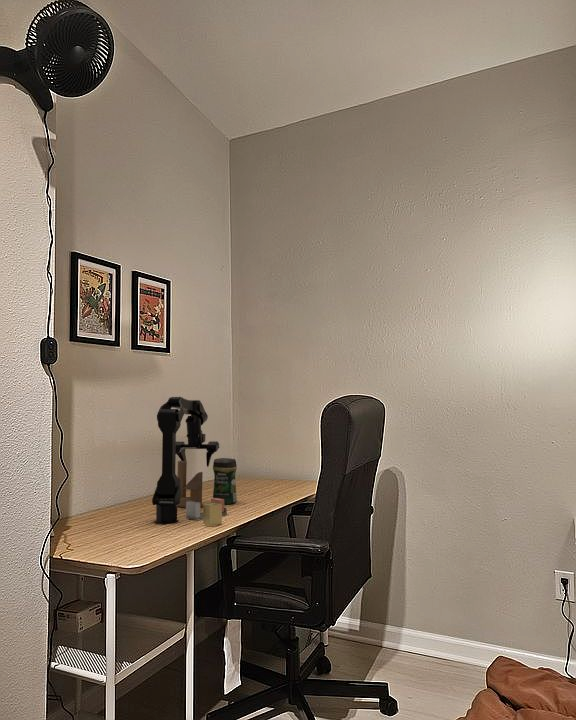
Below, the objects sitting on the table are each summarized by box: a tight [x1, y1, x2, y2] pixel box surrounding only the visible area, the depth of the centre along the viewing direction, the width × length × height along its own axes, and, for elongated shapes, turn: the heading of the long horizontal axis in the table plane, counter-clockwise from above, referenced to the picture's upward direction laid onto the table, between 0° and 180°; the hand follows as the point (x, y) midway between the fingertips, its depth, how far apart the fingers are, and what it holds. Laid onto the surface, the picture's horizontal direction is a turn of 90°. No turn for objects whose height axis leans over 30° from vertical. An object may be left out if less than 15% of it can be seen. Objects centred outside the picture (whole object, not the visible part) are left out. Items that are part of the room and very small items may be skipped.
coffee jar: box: [212, 457, 238, 505], centre depth 251 cm, size 10×8×19 cm
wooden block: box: [176, 460, 204, 508], centre depth 242 cm, size 4×11×18 cm, turn 66°
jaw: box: [210, 497, 225, 512], centre depth 226 cm, size 2×6×4 cm, turn 43°
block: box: [202, 502, 223, 527], centre depth 208 cm, size 5×4×7 cm
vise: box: [185, 501, 228, 521], centre depth 222 cm, size 14×6×6 cm, turn 133°
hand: (196, 466), depth 247 cm, fingers open, 9 cm apart
